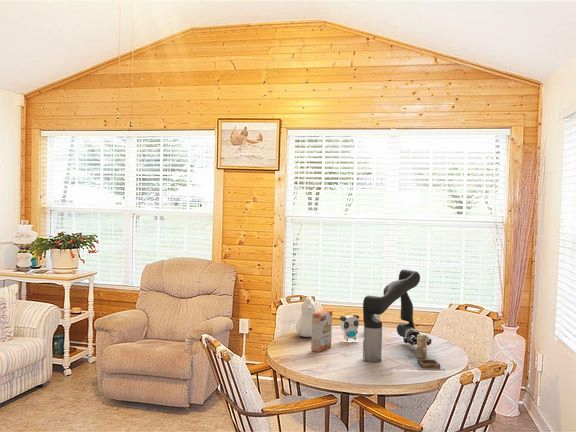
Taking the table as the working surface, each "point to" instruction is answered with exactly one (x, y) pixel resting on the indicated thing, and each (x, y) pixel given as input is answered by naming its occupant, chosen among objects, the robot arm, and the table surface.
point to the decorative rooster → (306, 318)
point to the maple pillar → (421, 346)
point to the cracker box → (321, 330)
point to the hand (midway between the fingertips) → (420, 343)
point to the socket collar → (428, 363)
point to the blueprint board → (414, 361)
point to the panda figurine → (349, 326)
